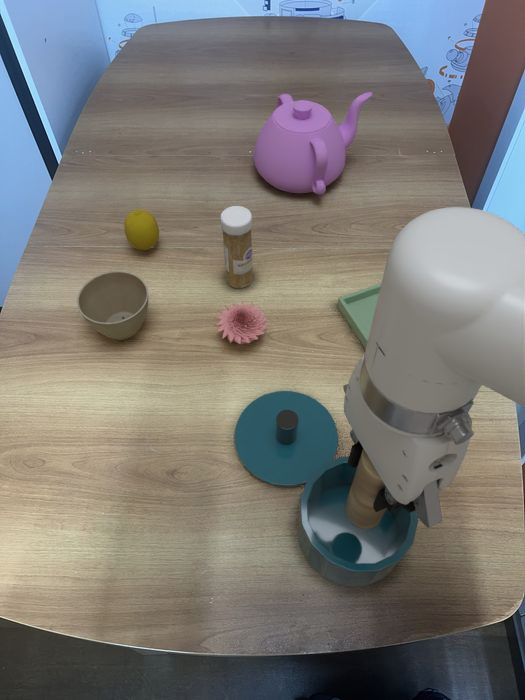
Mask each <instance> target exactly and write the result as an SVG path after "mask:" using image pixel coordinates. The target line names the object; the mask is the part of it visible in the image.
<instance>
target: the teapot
mask: <svg viewBox="0 0 525 700" xmlns="http://www.w3.org/2000/svg"><path fill="white" fill-rule="evenodd" d="M372 96H373V92H372V91H368V92H365V93H362V94H360V95H358V96H357V97H356V98H355V99H354V100H353V101H352V102H351V104H350V106H349V108H348V112H347V114H346V117H345V118H344V120H343V122H342V123H341V124H340V125H338V124H337V122H336V120H335V118H334V117H333V115H332V113H331V112H330V111H329V110H328V109H327V108H326V107H324V106H323V105H322V104H320V103H317V102H315V101H310V100H307V99H298V100H294V99H293V97H292V96H291V94H289V93H282V94H280V95H279V96H277V98H276V108H275V110H274V111H273V112H272V113H271V114H270V116H269V117H268V118H267V119H266V120H265V122H264V124H263V125H262V128H261V129H260V131H259V133H258V136H257V138H256V141H255V145H254V150H253V163H254V166H255V168H256V171H257V173H258V174H259V175H260V176H261V177H262V178H263V179H264V180H265V181H266V182H267V183H268V184H269V185H271V186H272V187H274V188H275V189H278V190H280V191H283V192H286V193H292V194H308V193H314V194H316V195H323V194H324V193H326V192H327V191H326V190H327V188H326V187H327V186H329V185H330V184H332V183H333V182H334V181H336V180H337V179H338V178H339V177H340V176H341V174H342V172H343V170H345V166H346V157H347V156H346V155H347V154H346V150H347V149H348V148H349V147H350V146H351V144H352V143H353V142H354V140H355V138H356V135H357V132H358V126H359V118H360V112H361V110H362V108H363V106H364V104H365V103H366V102H367V101H368V100H369V99H370V98H371V97H372Z"/></svg>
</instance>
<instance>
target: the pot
mask: <svg viewBox="0 0 525 700" xmlns="http://www.w3.org/2000/svg"><path fill="white" fill-rule="evenodd" d="M348 459H349V456H340V457H337V458H334V459H333V460H332V461H330V462H327V463H325V464H323V465H321V466H320V467H319V468H318V469H317V470H316V471H315V472H314V473H313V475H312V476H311V477H310V478H309V479H308V480H307V482H306V483H305V484H304V489H303V490H302V494H301V496H300V499H299V504H298V505H299V506H298V513H297V518H296V527H297V530H296V531H297V541H298V545H299V547H300V550H301V552H302V554H303V556H304V559H306V561H307V562H308V564H309V566H311V567H312V569H313V570H314V571H316V572H317V573H318V574H319V575H320V576H322V577H323V578H325V579H326V580H328V581H329V582H332V583H334V584H337V585H340V586H345V587H352V588H358V587H360V588H361V587H366V586H370V585H373V584H375V583H377V582H379V581H381V580H382V579H385V578H386V577H388V575H389V574H390V573H391V572H392V570H393V569H394V568H395V567H396V566H397V564H398V563H400V560H401V559H403V557H404V556H405V555H406V553H407V552H408V551H409V549H410V548H411V547H412V546H413V545H414V541H415V538H416V537H415V536H416V532H417V529H418V526H419V525H418V524H419V519H418V518H417V517H416V516H415V512H414V511H413V512H411V513H410V512H408V511H407V510H405V509H404V508H403V507H401V508H399V509H397V510H395V511H393V512H389V511H388V509H386V511H385V513H384V515H383V517H382V519H381V521H380V522H379V524H378V525H376V526H375V527H373V528H371V529H360V528H358V527H356V526H354V525H353V524H352V523H351V522H350V521H349V520H348V518H347V516H346V513H345V505H346V502H347V499H348V495H349V492H350V489H351V486H352V482H353V479H354V476H355V473H356V470H357V467H354V468H352V467H350V465H349V463H348Z"/></svg>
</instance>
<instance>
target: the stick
mask: <svg viewBox="0 0 525 700" xmlns="http://www.w3.org/2000/svg"><path fill="white" fill-rule="evenodd" d="M383 488H385V484H384V482H383V481H382V479H381V477H380V476H379V474H378V472H377V471H376V469H375V467H374V466H373V464H372V462H371V460H370V459H369V457H368V455H367V454H366V452H365V450H364V448H363V450H362V454H361V457H360V460H359V463H358V466H357V470H356V473H355V476H354V479H353V482H352V486H351V489H350V492H349V495H348V499H347V502H346V505H345V513H346V516H347V518H348V520H349V521H350V522H351V523H352V524H353V525H354V526H356V527H358V528H360V529H371V528H373V527H375V526H376V525H378V524H379V522H380V521H381V519H382V517H383V515H384V513H385V511H386V509H387V508H385V509H383V510H381V511H379V512H375V510H374V508H373V506H374V505H373V503H374V501H375V499H376V496H377V494H378V492H379V491H380V490H381V489H383Z"/></svg>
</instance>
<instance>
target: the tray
mask: <svg viewBox="0 0 525 700" xmlns="http://www.w3.org/2000/svg"><path fill="white" fill-rule="evenodd" d="M380 287H381V283H378V284H374V285H372V286H370V287H366V288H363V289H360V290H357V291H354V292H352V293H348V294H346V295H343V296H340V297H338V299H337V303H336V307H337V308H338V310H339V312H340V313H341V315H342V316H343V318H344V319H345V321H346V322H347V324H348V325H349V327H350V328H351V330H352V331H353V333H354V334H355V336H356V337H357V339H358V340H359V342H360V344H361V345H362V346H363V349H365V350H366V347H367V342H368V338H369V334H370V330H371V325H372V321H373V317H374V312H375V308H376V304H377V300H378V296H379V291H380Z"/></svg>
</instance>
